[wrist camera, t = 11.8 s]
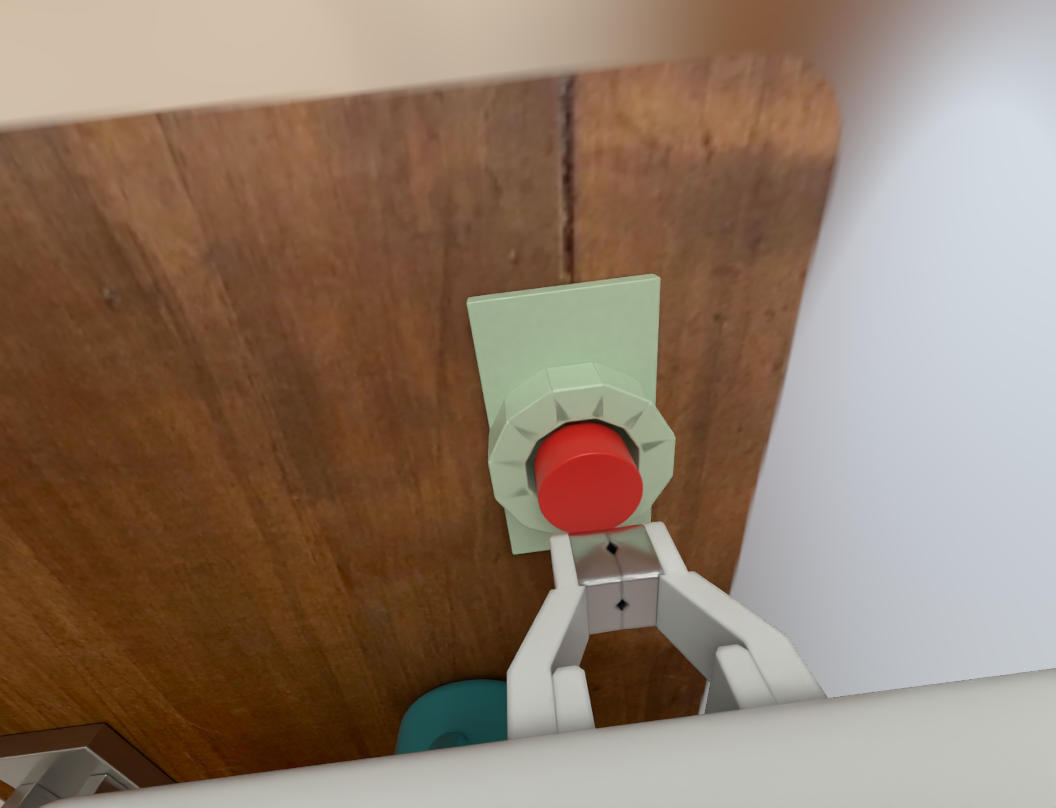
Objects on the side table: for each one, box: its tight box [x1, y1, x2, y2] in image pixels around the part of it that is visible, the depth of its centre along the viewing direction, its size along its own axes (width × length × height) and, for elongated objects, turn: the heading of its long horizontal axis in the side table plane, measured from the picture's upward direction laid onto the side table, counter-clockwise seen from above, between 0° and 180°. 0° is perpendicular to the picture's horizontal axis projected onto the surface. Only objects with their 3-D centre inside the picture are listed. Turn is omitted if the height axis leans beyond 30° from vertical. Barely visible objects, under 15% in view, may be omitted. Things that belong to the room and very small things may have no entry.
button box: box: [467, 274, 675, 554], centre depth 15 cm, size 11×6×2 cm, turn 6°
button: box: [534, 422, 643, 533], centre depth 13 cm, size 3×3×2 cm
